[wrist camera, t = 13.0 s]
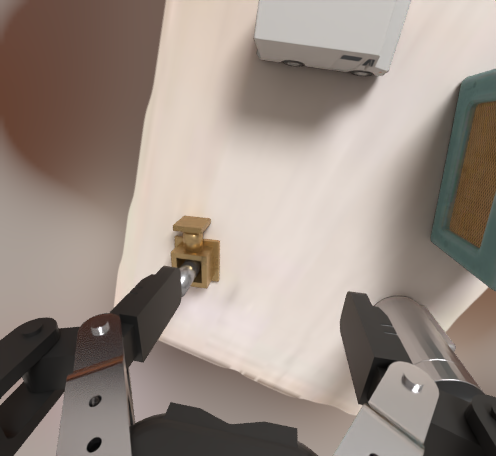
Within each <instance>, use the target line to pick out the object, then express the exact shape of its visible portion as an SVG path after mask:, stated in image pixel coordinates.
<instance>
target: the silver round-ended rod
mask: <svg viewBox="0 0 496 456" xmlns="http://www.w3.org/2000/svg"><path fill="white" fill-rule="evenodd" d="M201 268H202V265H201V261H197V260H189V259H186V260H185V262H184V263H183V264H182V265H181V267H180V271H181V288H182V297H183V296H184V295H185V293H186V292H187V290H188V289H189V287H190V285H191V284H192V282H193V281H194V279H195V278H196V276H197V274H198V273H199V271H200V270H201Z"/></svg>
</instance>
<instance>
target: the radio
mask: <svg viewBox="0 0 496 456" xmlns="http://www.w3.org/2000/svg"><path fill="white" fill-rule="evenodd" d="M431 241H432V242H433V243H434V244H435V245H436V246H438V247H439V248H440V249H441V250H443V251H444V252H445V253H446V254H448V255H449V256H450V257H452V258H453V259H454V260H455V261H457V262H458V263H459V264H460V265H462V266H463V267H464V268H465V269H467V270H468V271H469V272H470V273H472V274H473V275H474V276H476V277H477V278H478V279H479V280H481V281H482V282H483V283H484V284H486V285H487V286H488V287H489V288H491V289H492V290H494V291H496V69H493V70H490V71H486V72H483V73H480V74H476V75H473V76H470V77H467V78H465V79H464V80H463V81H462V83H461V87H460V92H459V97H458V102H457V107H456V112H455V117H454V122H453V127H452V132H451V137H450V142H449V147H448V153H447V158H446V163H445V168H444V173H443V178H442V183H441V188H440V193H439V198H438V203H437V208H436V213H435V218H434V223H433V228H432V233H431Z"/></svg>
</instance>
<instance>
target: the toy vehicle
mask: <svg viewBox="0 0 496 456" xmlns="http://www.w3.org/2000/svg"><path fill="white" fill-rule="evenodd" d="M410 3H411V0H259V3H258V11H257V18H256V26H255V33H254V41H255V43H256V46H257V55H258V57H259V59H262V60H267V61H274V62H281V61H283V62H284V63H285V64H287V65H290V66H303V63H304V64H305V66H308V67H315V68H322V69H329V70H335V71H342V72H348V71H351V73H352V74H354V75H359V76H370V75H372V73H373V74H374V75H377V76H383V75H384V74H385V73H387V72H388V71H389V68H390V65H391V62H392V59H393V56H394V53H395V49H396V46H397V43H398V40H399V37H400V34H401V31H402V28H403V25H404V22H405V18H406V15H407V12H408V9H409V6H410Z"/></svg>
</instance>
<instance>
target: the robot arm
mask: <svg viewBox="0 0 496 456" xmlns="http://www.w3.org/2000/svg"><path fill="white" fill-rule="evenodd" d="M181 297H182V288H181V271H180V268H177V267H169V266H163V267H162V268H161V269H160V270H159V271H158V272H157V273H156V274H155V275H153V274H151V275H150V276H148V277H146V278H144V279H142V280H141V281H140V282H139V283H138V284H137V285H136V286H135V288H133V289H132V290H131V291H130V293H128V294H127V295H126V296H125V297H124V298H123V299H122V300H121V301H120V302H119V303H118V304H117V305H116V306H115V308H114V309H113V310H112V311H111V312H110V313H104V314H99V315H96V316H94V317H92V318H89V319H88V320H87V321H85V322H84V323H83V324H82V325H81V326H80V327H73V328H61V329H59V328H58V325H57V322H56V321H55V320H54V319H52V318H38V319H35V320H31V321H28V322H26V323H24V324H22V325H20V326H19V327H17V328H16V329H14V330H13V331H12V332H11V333H9V334H8V335H7V336H5V337H4V338H3V339H1V340H0V399H1V397H2V396H3V395H4V394H5V393H6V392H7V391H8V390H9V389H10V388H11V387H12V386H13V385H14V384H15V383H16V382H17V381H18V380H19V379H20V378H21V377H22V378H23V380H24V382H23V383H22V384H21V385H20V386H19V387H18V388H17V389H16V390H15V391H14V392H13V393H12V394H11V395H10V396H9V397H8V398H7V399H6V400H5V401H4V402H3V403H2V404H1V405H0V456H14V454H15V453H16V452H17V451H18V449H19V448H20V447H21V446H22V444H23V443H24V442H25V440H26V439H27V438H28V437H29V436H30V434H31V433H32V432H33V430H34V429H35V428H36V427H37V426H38V424H39V423H40V422H41V420H42V419H43V418H44V417H45V415H46V414H47V413H48V412H49V410H50V409H51V408H52V407H53V405H54V404H55V403H56V402H57V400H58V399H59V398H60V397H61V395H62V394H63V392H65V393H64V400H63V407H62V415H61V422H60V429H59V437H58V444H57V451H56V456H318V455H317V454H316V453H314V452H313V451H312V450H311V449H309V448H308V447H306V446H305V445H304V444H302V443H300V442H298V441H297V428H292V427H288V426H282V425H278V424H273V423H268V422H255V423H244V424H228V423H226V422H224V421H222V420H221V419H218V418H217V417H215V416H213V415H211V414H210V413H208V412H206V411H204V410H202V409H200V408H196V407H191V406H186V405H181V404H176V403H170V405H169V407H168V409H167V412H166V413H165V414H159V415H154V416H151V417H148V418H145V419H143V420H142V421H139V422H137V423H135V418H134V409H133V400H132V391H131V381H130V373H129V366H130V365H131V363H132V362H133V361H139V362H144V361H145V359H146V358H147V356H148V354H149V353H150V351H151V350H152V348H153V346H154V345H155V343H156V342H157V340H158V339H159V337H160V335H161V334H162V332H163V331H164V329H165V327H166V326H167V324H168V323H169V321H170V319H171V318H172V316H173V315H174V313H175V312H176V310H177V308H178V307H179V305H180V302H181ZM340 332H341V336H342V340H343V344H344V348H345V352H346V356H347V360H348V364H349V368H350V372H351V376H352V380H353V385H354V389H355V393H356V397H357V401H358V404H361V405H363V406H362V408H361V410H360V411H359V413H358V415H357V416H356V418H355V420H354V421H353V423H352V425H351V426H350V428H349V430H348V431H347V433H346V435H345V436H344V438H343V440H342V441H341V443H340V445H339V446H338V448H337V449H336V451H335V453H334V454H333V456H496V398H495V397H493V396H489V395H485V394H484V393H483V391H482V390H481V388H480V387H479V386H478V384H477V383H476V382H475V380H474V379H473V377H472V376H471V375H470V373H469V372H468V371H467V370H466V368H465V367H464V365H463V364H462V363H461V361H460V360H459V359H458V357H457V356H456V354H455V353H454V351H455V349H456V346H455V344H454V343H453V342H452V340H450V338H449V337H448V335H447V334H446V333H445V331H444V330H443V329H442V327H441V326H440V325H439V324H438V322H437V321H436V320H435V318H434V317H433V316H432V314H431V313H430V312H429V310H428V309H427V308H426V307H425V306H421V305H419V304H418V303H417V302H416V301H414V300H412V299H411V298H407V297H403V296H393V297H388V298H385V299H383V300H381V301H380V302H378V303H377V304H376V305H375V306H372V304H371V302H370V300H369V298H368V296H367V294H364V293H357V292H347V295H346V298H345V302H344V306H343V310H342V314H341V319H340Z"/></svg>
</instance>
